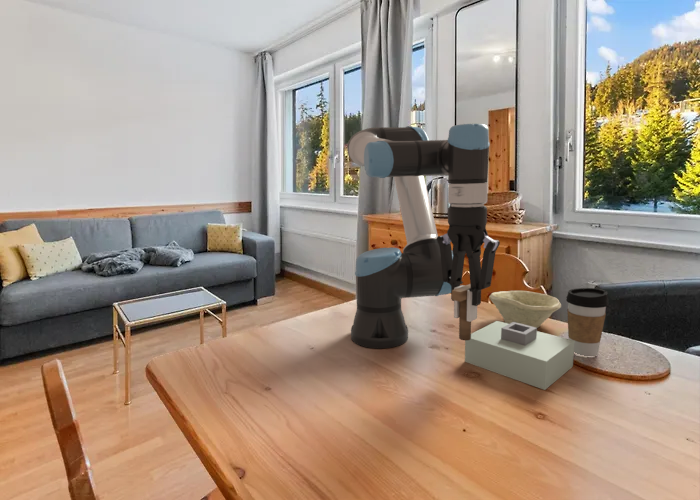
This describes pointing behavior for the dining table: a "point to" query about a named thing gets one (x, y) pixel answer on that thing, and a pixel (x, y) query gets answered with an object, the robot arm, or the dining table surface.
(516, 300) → the bowl
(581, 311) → the coffee cup
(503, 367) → the socket box
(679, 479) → the dining table surface
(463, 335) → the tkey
